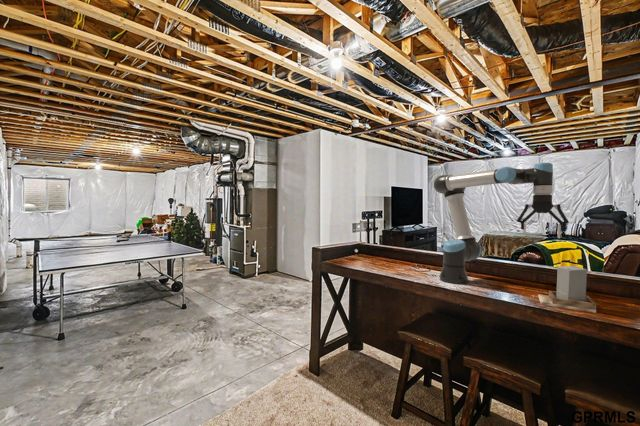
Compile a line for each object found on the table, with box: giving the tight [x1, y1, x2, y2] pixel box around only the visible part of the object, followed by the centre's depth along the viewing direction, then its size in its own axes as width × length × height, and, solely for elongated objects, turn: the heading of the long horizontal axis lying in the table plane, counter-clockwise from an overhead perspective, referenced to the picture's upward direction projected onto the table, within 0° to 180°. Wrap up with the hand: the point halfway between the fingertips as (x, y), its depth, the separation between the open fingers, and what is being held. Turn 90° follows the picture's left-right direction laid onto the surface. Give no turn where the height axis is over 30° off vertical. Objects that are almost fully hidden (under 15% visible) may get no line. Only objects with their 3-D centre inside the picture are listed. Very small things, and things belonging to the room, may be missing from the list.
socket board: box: [537, 290, 597, 314], centre depth 128 cm, size 18×13×4 cm
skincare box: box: [556, 265, 588, 302], centre depth 127 cm, size 8×7×16 cm
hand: (541, 237), depth 142 cm, fingers open, 13 cm apart
